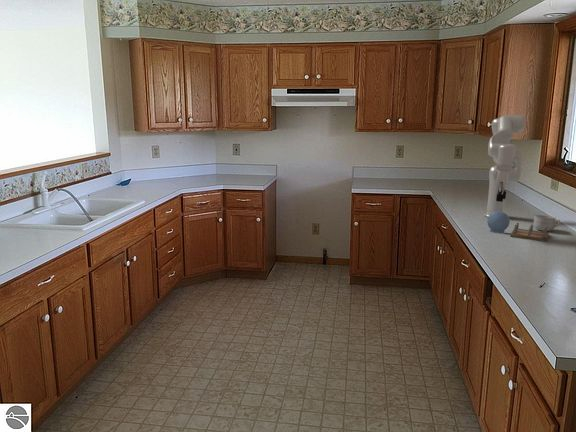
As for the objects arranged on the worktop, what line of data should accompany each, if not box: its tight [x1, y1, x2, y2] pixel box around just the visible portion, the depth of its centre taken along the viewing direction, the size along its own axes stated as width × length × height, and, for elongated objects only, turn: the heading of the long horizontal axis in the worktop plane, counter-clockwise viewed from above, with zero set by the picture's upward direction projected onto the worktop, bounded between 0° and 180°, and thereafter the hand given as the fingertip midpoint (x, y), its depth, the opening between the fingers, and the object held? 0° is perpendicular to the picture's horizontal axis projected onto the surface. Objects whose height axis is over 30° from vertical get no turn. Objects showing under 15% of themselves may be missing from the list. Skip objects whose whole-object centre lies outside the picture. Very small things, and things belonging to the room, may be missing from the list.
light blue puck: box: [486, 211, 511, 234], centre depth 265 cm, size 2×11×12 cm, turn 59°
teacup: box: [533, 214, 561, 232], centre depth 269 cm, size 14×11×8 cm
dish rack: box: [510, 222, 550, 242], centre depth 258 cm, size 15×17×5 cm
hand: (500, 200), depth 262 cm, fingers open, 9 cm apart
